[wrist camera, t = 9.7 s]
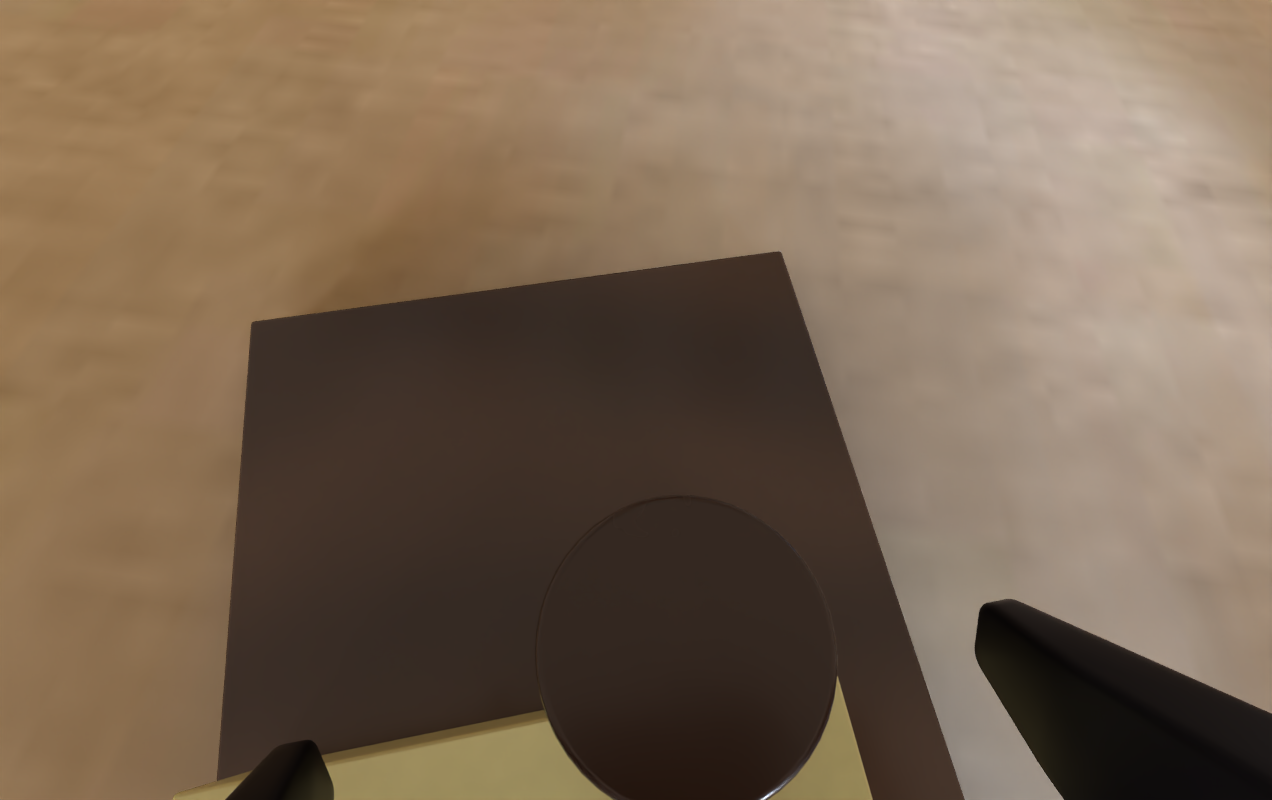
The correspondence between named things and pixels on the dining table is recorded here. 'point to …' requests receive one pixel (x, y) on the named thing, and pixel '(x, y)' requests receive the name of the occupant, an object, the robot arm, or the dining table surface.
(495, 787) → the butter
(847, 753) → the butter pat
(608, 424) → the board
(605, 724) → the brown mallet
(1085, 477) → the dining table surface
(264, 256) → the dining table surface
